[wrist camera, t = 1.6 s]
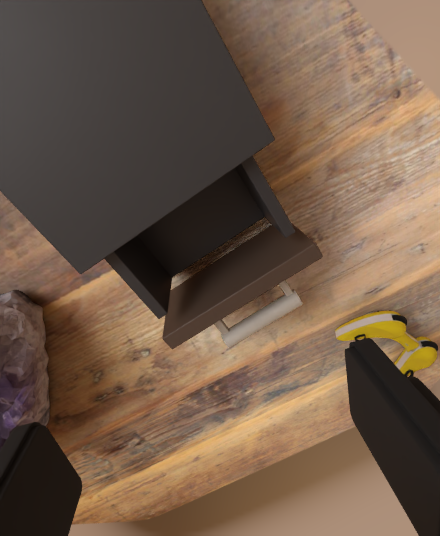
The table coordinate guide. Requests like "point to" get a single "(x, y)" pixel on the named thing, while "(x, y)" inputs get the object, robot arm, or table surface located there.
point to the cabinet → (116, 116)
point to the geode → (22, 364)
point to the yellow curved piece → (393, 327)
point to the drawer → (223, 270)
